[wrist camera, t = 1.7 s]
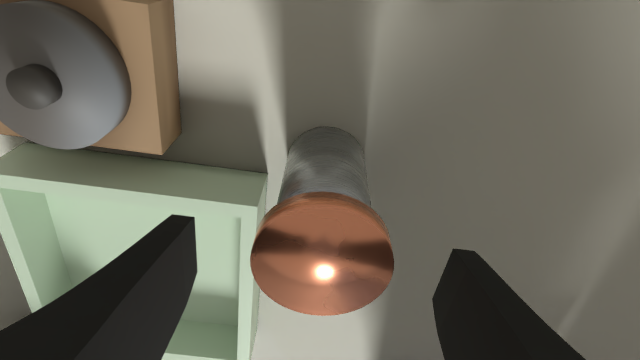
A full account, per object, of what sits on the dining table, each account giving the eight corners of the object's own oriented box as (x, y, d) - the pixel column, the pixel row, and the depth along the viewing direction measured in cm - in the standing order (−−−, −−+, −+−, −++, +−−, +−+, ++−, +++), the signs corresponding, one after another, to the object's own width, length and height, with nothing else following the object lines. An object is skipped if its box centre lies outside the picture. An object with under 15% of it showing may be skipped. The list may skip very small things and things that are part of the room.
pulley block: (172, -2, 13) (121, 11, 10) (181, 132, 15) (142, 177, 12) (-9, -29, 13) (-122, -25, 9) (31, 112, 15) (-48, 153, 12)
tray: (267, 173, 16) (257, 207, 14) (257, 327, 21) (248, 369, 19) (25, 142, 16) (-24, 171, 14) (74, 307, 21) (45, 347, 19)
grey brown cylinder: (383, 124, 15) (409, 219, 10) (363, 206, 17) (377, 322, 12) (282, 111, 15) (253, 199, 9) (275, 195, 17) (248, 307, 11)
